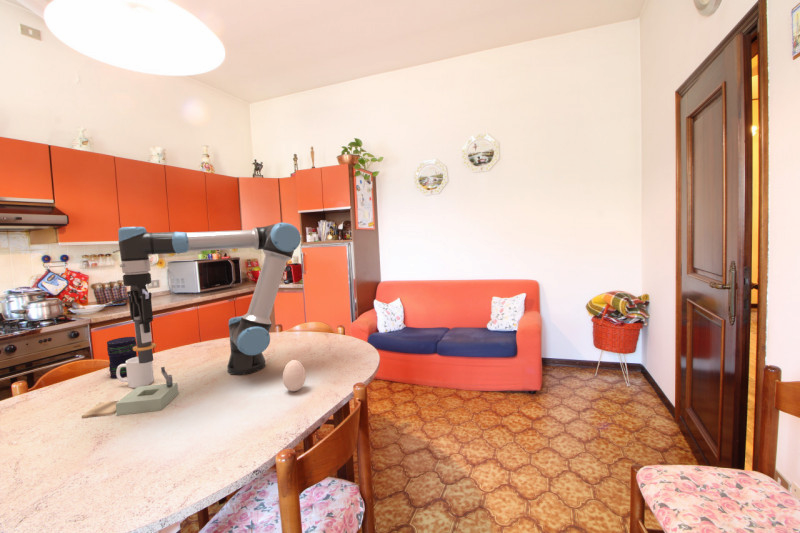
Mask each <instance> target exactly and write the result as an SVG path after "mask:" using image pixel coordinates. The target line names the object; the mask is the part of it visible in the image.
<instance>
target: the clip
mask: <svg viewBox="0 0 800 533" xmlns="http://www.w3.org/2000/svg"><path fill="white" fill-rule="evenodd" d="M165 368H166V367H165V366H161V367H160V370H161V374H162V376H163V377H164V379H165V382H166V383H165V384H167V387H171V386H173V383H174V382H173V375H172V374H168V373H167V372H166V369H165Z"/></svg>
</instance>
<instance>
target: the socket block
mask: <svg viewBox="0 0 800 533" xmlns="http://www.w3.org/2000/svg"><path fill="white" fill-rule="evenodd" d="M172 383H173V386H171V387H167V384H166V383H163V384H162V383H160V384H149V385H146V386H140V387H137V388H133V390H131V391H130V392H129V393H127V394H126V395H125V396H124V397H122V398H121V399H119V400H117V401H118V402H117V403H116V416H122V415H123V416H124V415H130V414H131V415H133V414H139V413H140V414H141V413H147V412H157V411H162V410H163V409H164V408H166V406H167V405H168V404H170V402H171V401H172V400H173V399H174V398H175V397H176V396H177V395H178V394H179V387H178V386H179V385H178V382H172Z"/></svg>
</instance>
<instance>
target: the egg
mask: <svg viewBox="0 0 800 533" xmlns="http://www.w3.org/2000/svg"><path fill="white" fill-rule="evenodd" d="M306 378H307V377H306V370H305V368H304V365H303V364H302V363H301V362H300V361H299V360H296V359H292V360H290V361H288V363H287V364H286V365H285V366H284V369H283V372H282V382H283V385H284V387H285V388H286V389H287V390H288V391H290V392H298V391H299V390H301V389H302V387H303V386H304V385H305V382H306Z"/></svg>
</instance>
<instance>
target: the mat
mask: <svg viewBox="0 0 800 533" xmlns="http://www.w3.org/2000/svg"><path fill="white" fill-rule="evenodd" d="M118 401H119V400H115V401H114V400H113V401H104V402H99V403H97V404H96V405H95V406H93V407H92V408H90V409H89V410H88V411H86V412H84V413H83V414H82V415H81V419H85V418H93V417H102V416H103V417H104V416H113V415H115V414H117V412H116V403H117V402H118Z"/></svg>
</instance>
